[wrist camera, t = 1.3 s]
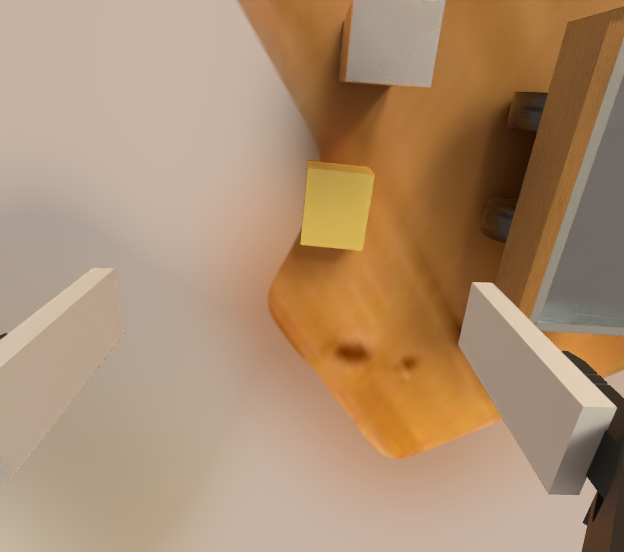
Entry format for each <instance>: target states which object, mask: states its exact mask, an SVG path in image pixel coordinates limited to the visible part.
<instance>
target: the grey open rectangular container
mask: <svg viewBox="0 0 624 552" xmlns="http://www.w3.org/2000/svg"><path fill="white" fill-rule="evenodd" d="M506 128H511V129H518V130H526V131H535V132H537V134H536V138H535V142H534V145H533V149H532V152H531V156H530V159H529V163H528V166H527V170H526V174H525V177H524V181H523V184H522V188H521V191H520V195H519V198H506V197H497V198H490V199H488V200H487V204H486V208H485V212H484V216H483V220H482V224H481V228H480V231H481V232H482V233H483V234H484V235H486V236H488V237H490V238H492V239H495V240H498V241H500V242H504V243H506V245H505V248H504V252H503V255H502V259H501V262H500V266H499V270H498V273H497V277H496V280H495V284H494V285H495V286H496V287H497V288H498V289H499V290H500V291H501V292H502V293H503V294H504V295H505V296H506V297H507V298H508V299H509V300H510V301H511V302H512V303H513V304H514V305H515V306H516V307H517V308H518V309H519V310H520V311H521V312H522V313H523V314H524V315H525V316H526V317H527V318H528V319H529V320H530V321H531V322H532V323H533V324H534V325H535V326H536V327H537V328H538V329H539V330H540V331H551V332H567V333H584V334H600V335H617V336H624V7H621V8H618V9H614V10H611V11H607V12H604V13H600V14H596V15H593V16H589V17H586V18H582V19H579V20H575V21H571V22H568V24H567V28H566V31H565V35H564V38H563V42H562V46H561V49H560V53H559V56H558V60H557V63H556V67H555V70H554V74H553V78H552V81H551V85H550V88H549V92H548V93H539V92H514V96H513V100H512V104H511V108H510V112H509V116H508V120H507V124H506Z"/></svg>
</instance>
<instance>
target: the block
mask: <svg viewBox="0 0 624 552" xmlns="http://www.w3.org/2000/svg"><path fill="white" fill-rule="evenodd" d="M374 179H375V175H374V173H373V172H372V171H371V169H370V168H369V167H365V166H356V165H346V164H337V163H328V162H321V161H312V160H308V169H307V179H306V189H305V200H304V210H303V221H302V230H301V242H300V245H308V246H318V247H328V248H339V249H349V250H359V251H363V245H364V239H365V233H366V227H367V221H368V215H369V209H370V203H371V197H372V191H373V185H374Z"/></svg>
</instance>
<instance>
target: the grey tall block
mask: <svg viewBox="0 0 624 552" xmlns="http://www.w3.org/2000/svg"><path fill="white" fill-rule="evenodd" d="M445 2H446V0H353V1H352V3H351V5H350V8H349V10H348V12H347V15H346V17H345V19H344V22H343V34H342V45H341V57H340V68H339V80H338V83H350V84H363V85H376V86H389V87H391V86H410V87H423V88H430V87H431V83H432V77H433V71H434V66H435V60H436V54H437V48H438V42H439V37H440V31H441V25H442V19H443V13H444V7H445Z"/></svg>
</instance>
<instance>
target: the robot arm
mask: <svg viewBox="0 0 624 552" xmlns="http://www.w3.org/2000/svg"><path fill="white" fill-rule="evenodd" d="M124 334H125V332H124V325H123V319H122V313H121V306H120V300H119V294H118V288H117V282H116V276H115V270H114V268H92V269H91V270H90V271H88V272H87V273H86V274H84V275H83V276H82V277H80V278H79V279H78V280H77V281H75V282H74V283H73V284H71V285H70V286H69V287H68V288H66V289H65V290H64V291H62V292H61V293H60V294H59V295H57V296H56V297H55V298H54V299H52V300H51V301H50V302H48V303H47V304H46V305H44V306H43V307H42V308H41V309H39V310H38V311H37V312H35V313H34V314H33V315H32V316H30V317H29V318H28V319H26V320H25V321H24V322H23V323H21V324H20V325H19V326H17V327H16V328H15V329H14V330H12V331H11V332H10V333H5V334H3V335H0V480H10V479H11V478H12V477H13V475H14V474H15V473H16V471H17V470H18V469H19V468H20V467H21V465H22V464H23V463H24V462H25V460H26V459H27V458H28V456H29V455H30V454H31V453H32V451H33V450H34V449H35V448H36V446H37V445H38V444H39V442H40V441H41V440H42V439H43V437H44V436H45V435H46V434H47V432H48V431H49V430H50V428H51V427H52V426H53V425H54V423H55V422H56V421H57V420H58V418H59V417H60V416H61V414H62V413H63V412H64V411H65V409H66V408H67V407H68V406H69V404H70V403H71V402H72V400H73V399H74V398H75V397H76V395H77V394H78V393H79V392H80V390H81V389H82V388H83V386H84V385H85V384H86V383H87V381H88V380H89V379H90V377H91V376H92V375H93V374H94V372H95V371H96V370H97V369H98V367H99V366H100V365H101V364H102V362H103V361H104V360H105V358H106V357H107V356H108V355H109V353H110V352H111V351H112V349H113V348H114V347H115V346H116V344H117V343H118V342H119V341H120V339H121V338H122V337H123V336H124ZM458 346H459V347H460V349H461V351H462V352H463V354H464V356H465V357H466V359H467V361H468V362H469V364H470V366H471V367H472V369H473V370H474V372H475V374H476V375H477V377H478V379H479V380H480V382H481V384H482V385H483V387H484V389H485V390H486V392H487V394H488V395H489V397H490V399H491V400H492V402H493V403H494V405H495V407H496V408H497V410H498V412H499V413H500V415H501V417H502V418H503V420H504V422H505V423H506V425H507V427H508V428H509V430H510V431H511V433H512V435H513V436H514V438H515V440H516V441H517V443H518V445H519V446H520V448H521V450H522V451H523V453H524V455H525V456H526V458H527V460H528V461H529V463H530V464H531V466H532V468H533V469H534V471H535V473H536V474H537V476H538V478H539V479H540V481H541V483H542V484H543V486H544V488H545V489H546V491H547V492H548V494H562V495H579V494H580V491H581V489H582V487H583V484H584V482H585V480H586V478H587V477H588V479H589V480H590V481H591V483H592V484H593V485H594V487H595V488H596V490H597V493H596V495H595V497H594V499H593V502H592V504H591V506H590V508H589V510H588V513H587V514H586V517H585V519H584V521H583V523H584V524H586V525H587V530H586V534H585V539H584V544H583V548H582V552H624V398H623V397H622V396H621V395H620V394H619V393H618V392H617V391H615V390H614V389H613V388H612V387H611V386H610V385H607V382H606V381H605V380H604V379H603V378H602V377H601V376H600V375H597V372H595V371H594V370H593V369H592V368H591V367H590V366H589V365H588V364H587V363H586V362H585V361H583V360H582V359H580V358H578V357H577V356H575V355H573V354H572V353H570V352H568V351H560V350H559V349H558V348H557V347H556V346H555V345H554V344H553V343H552V342H551V341H550V340H549V339H548V338H547V337H546V336H545V335H544V334H543V333H542V332H541V331H540V330H539V329H538V328H537V327H536V326H535V325H534V324H533V323H532V322H531V321H530V320H529V319H528V318H527V317H526V316H525V315H524V314H523V313H522V312H521V311H520V310H519V309H518V308H517V307H516V306H515V305H514V304H513V303H512V302H511V301H510V300H509V299H508V298H507V297H506V296H505V295H504V294H503V293H502V292H501V291H500V290H499V289H498V288H497V287H496V286H495V285H494V284H493V283H486V282H472V284H471V289H470V293H469V298H468V302H467V307H466V311H465V316H464V320H463V325H462V329H461V334H460V338H459V343H458Z"/></svg>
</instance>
